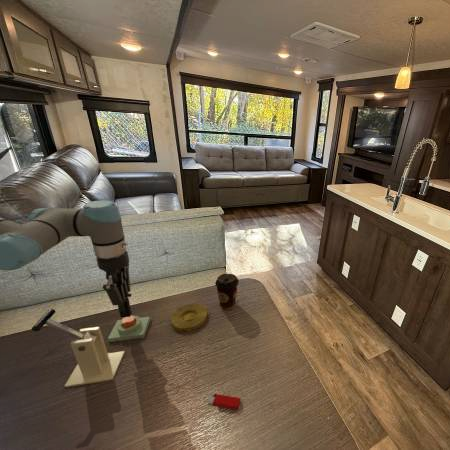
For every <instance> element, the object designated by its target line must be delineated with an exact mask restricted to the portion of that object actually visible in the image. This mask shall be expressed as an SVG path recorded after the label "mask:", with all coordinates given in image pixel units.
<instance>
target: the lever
mask: <svg viewBox="0 0 450 450" xmlns="http://www.w3.org/2000/svg"><path fill="white" fill-rule="evenodd" d="M55 314H56V310H55V309H54V308H49V309H48V310H47V311H46V312H45V313H44V314H43V315H42V316H41V317H40V318H39V319H38V320H37V322H36V323H35V324H34V325H32V327H31V330H32V331H33V332H40V331H41V330H42V329H43V328H44V326H45V325H46V326H48V327H51V328H52V329H55V330H57V331H59V332H61V333H63V334H65V335H68V336H70V337H72V338H74V339H75V340H83V339H93V342H94V341H95V339H96V338H97V336H95V335H93V334H91V333H89V332H87V333H85V334H82V333H79V331H77V330H76V329H73V328H71V327H68V326H67V325H64V324H62V323H60V322H59V321H56V320H54V319H52V317H53V316H54V315H55Z"/></svg>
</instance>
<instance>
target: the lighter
mask: <svg viewBox="0 0 450 450" xmlns="http://www.w3.org/2000/svg"><path fill="white" fill-rule="evenodd" d="M241 399H242V398H241V397H236V396H230V395H224V394H218V393H214V394H213V395H211V396H209V399H208V401H207V405H209V406H214V407H217V408H223V409H228V410H229V409H230V410H234V411H238V410H239V406H240V403H241Z"/></svg>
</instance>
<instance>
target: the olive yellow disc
mask: <svg viewBox="0 0 450 450" xmlns="http://www.w3.org/2000/svg"><path fill="white" fill-rule="evenodd" d="M207 317H208V312H207V308H206V307H204V306H203V305H201V304H193V303H192V304H191V303H190V304H186V305H183V306H181V307H179V308H178V309H176V310H174V312H173V313H172V315H171V317H170V324H171V327H172V328H173V329H174V330H175V331H177V332H183V333H184V332H191V331H195V330H197V329H198V328H201V326H203V325H204V324H205V323H206V321H207Z"/></svg>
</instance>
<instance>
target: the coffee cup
mask: <svg viewBox="0 0 450 450" xmlns="http://www.w3.org/2000/svg"><path fill="white" fill-rule="evenodd" d="M239 283H240V281H239V278H238V276H237V275H236V274H233V273H222V274H220V275H219V276H218V277H217V279H216V280H215V283H214V285H215V287H216V291H217V292H216V293H217V297H218V301H219V307H220V308H221V309H223V310H231V309H233V308H234V307H236V304H237V302H236V300H237V293H238V285H239Z"/></svg>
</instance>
